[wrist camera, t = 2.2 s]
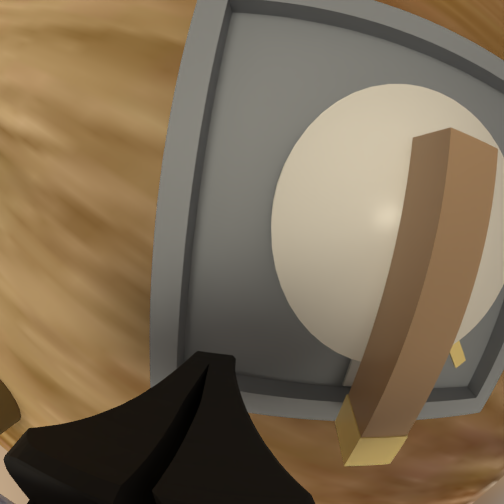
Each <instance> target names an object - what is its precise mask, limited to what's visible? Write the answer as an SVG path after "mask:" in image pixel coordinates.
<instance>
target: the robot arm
mask: <svg viewBox="0 0 504 504" xmlns="http://www.w3.org/2000/svg"><path fill="white" fill-rule="evenodd" d="M235 365H236V358H235V357H234V356H233V355H226V354H218V353H210V352H203V351H197V352H195V353H194V354H193V355H192V356H191V357H190V358H188V359H187V360H186V361H185V362H184V363H183V364H182V365H180V366H179V367H178V368H177V369H176V370H174V371H173V372H172V373H171V374H169V375H168V376H167V377H166V378H164V379H163V380H162V381H160V382H159V383H157V384H156V385H155V386H153V387H152V388H150V389H149V390H147V391H146V392H144V393H143V394H141V395H139V396H138V397H136V398H134V399H132V400H130V401H128V402H126V403H124V404H122V405H120V406H118V407H115V408H113V409H110V410H108V411H105V412H103V413H100V414H97V415H95V416H92V417H88V418H85V419H81V420H78V421H74V422H69V423H65V424H59V425H53V426H45V427H37V428H29V429H28V430H27V431H26V432H25V433H24V434H23V435H22V437H21V438H20V439H19V440H18V441H17V442H16V444H15V445H14V446H13V447H12V448H11V449H10V451H9V452H8V453H7V454H6V455H5V457H4V463H5V466H6V469H7V470H8V472H9V474H10V475H11V477H12V478H13V479H14V481H15V482H16V483H17V484H18V486H19V487H20V488H21V490H22V491H23V492H24V493H25V494H26V496H27V497H28V498H29V499H30V500H29V502H28V503H27V504H315V502H314V500H313V498H312V495H311V494H310V493H309V492H308V491H306V490H305V489H304V488H303V487H302V486H301V485H300V484H299V483H298V482H297V481H296V480H295V479H294V478H293V477H292V476H291V475H290V474H289V473H288V472H287V471H286V470H285V469H284V467H283V466H282V465H281V464H280V463H279V462H278V460H277V459H276V458H275V456H274V455H273V454H272V452H271V451H270V450H269V448H268V447H267V446H266V444H265V443H264V441H263V440H262V438H261V436H260V435H259V433H258V431H257V430H256V428H255V426H254V424H253V422H252V420H251V418H250V416H249V414H248V412H247V409H246V407H245V404H244V402H243V399H242V396H241V393H240V390H239V386H238V382H237V378H236V372H235ZM0 504H14V503H13V502H11V501H10V500H8V499H7V498H6V497H4V496H3V495H1V494H0Z"/></svg>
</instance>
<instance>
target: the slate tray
mask: <svg viewBox="0 0 504 504" xmlns="http://www.w3.org/2000/svg"><path fill="white" fill-rule="evenodd" d="M385 84H409V85H415V86H421V87H425V88H428V89H431V90H434V91H437V92H439V93H441V94H444V95H446V96H447V97H449V98H451V99H453V100H455V101H456V102H458V103H459V104H461V105H462V106H463V107H465V108H466V109H467V110H469V111H470V112H471V113H472V114H473V115H474V116H475V117H476V118H477V119H478V120H479V121H480V122H481V123H482V124H483V126H484V127H485V128H486V129H487V130H488V132H489V133H490V134H491V136H492V137H493V139H494V140H495V142H496V143H497V145H498V147H499V149H500V151H501V153H502V155H503V157H504V61H503V60H502V59H500V58H499V57H497V56H495V55H494V54H492V53H491V52H489V51H487V50H486V49H484V48H482V47H480V46H479V45H477V44H475V43H473V42H472V41H470V40H468V39H466V38H464V37H462V36H460V35H458V34H456V33H454V32H452V31H450V30H448V29H446V28H444V27H442V26H440V25H438V24H435V23H433V22H431V21H428V20H426V19H424V18H421V17H419V16H416V15H414V14H411V13H409V12H406V11H403V10H401V9H398V8H395V7H392V6H389V5H386V4H383V3H380V2H377V1H374V0H197V4H196V7H195V10H194V14H193V17H192V21H191V25H190V28H189V32H188V36H187V40H186V44H185V48H184V52H183V56H182V60H181V65H180V69H179V73H178V78H177V83H176V87H175V92H174V97H173V102H172V108H171V113H170V118H169V124H168V130H167V136H166V142H165V149H164V155H163V162H162V169H161V177H160V185H159V193H158V202H157V211H156V221H155V232H154V245H153V259H152V276H151V299H150V384H151V388H152V387H153V386H155V385H156V384H157V383H159V382H160V381H162V380H163V379H164V378H166V377H167V376H168V375H169V374H171V373H172V372H173V371H174V370H176V369H177V368H178V367H179V366H180V365H182V364H183V363H184V362H185V361H186V360H187V359H188V358H190V357H191V356H192V355H193V354H194V353H195V352H197V351H203V352H210V353H218V354H226V355H233V356H234V357H235V358H236V365H235V372H236V378H237V382H238V386H239V390H240V393H241V396H242V399H243V402H244V404H245V407H246V409H247V412H248V413H255V414H262V415H270V416H279V417H288V418H299V419H312V420H329V421H335V420H336V418H337V416H338V414H339V411H340V409H341V407H342V404H343V402H344V399H345V397H346V395H347V394H349V392H350V389H351V387H352V384H353V382H354V379H355V376H356V374H357V371H358V368H359V366H360V363H361V362H360V361H357V360H353V359H350V358H348V357H346V356H343V355H341V354H339V353H337V352H335V351H334V350H332V349H330V348H329V347H327V346H326V345H324V344H323V343H322V342H320V341H319V340H318V339H317V338H316V337H315V336H313V335H312V334H311V333H310V332H309V331H308V329H307V328H306V327H305V326H304V325H303V324H302V323H301V321H300V320H299V319H298V317H297V316H296V314H295V313H294V311H293V310H292V308H291V306H290V305H289V303H288V301H287V299H286V296H285V294H284V292H283V290H282V288H281V285H280V282H279V278H278V275H277V272H276V269H275V263H274V257H273V251H272V237H271V216H272V205H273V198H274V194H275V189H276V185H277V182H278V179H279V176H280V174H281V171H282V168H283V166H284V164H285V162H286V160H287V158H288V156H289V155H290V153H291V151H292V149H293V147H294V146H295V144H296V143H297V141H298V140H299V139H300V137H301V136H302V134H303V133H304V132H305V130H306V129H307V128H308V126H309V125H310V124H311V123H312V122H313V121H314V120H315V119H316V118H317V117H318V116H319V115H320V114H321V113H322V112H324V111H325V110H326V109H328V108H329V107H330V106H332V105H333V104H334V103H336V102H337V101H339V100H341V99H343V98H344V97H346V96H348V95H350V94H352V93H354V92H357V91H360V90H363V89H366V88H369V87H372V86H379V85H385ZM503 370H504V284H503V287H502V289H501V291H500V292H499V294H498V296H497V298H496V300H495V301H494V303H493V304H492V306H491V307H490V309H489V310H488V312H487V313H486V314H485V316H484V317H483V318H482V319H481V320H480V321H479V323H478V324H477V325H476V326H475V327H474V328H473V329H472V330H471V331H470V332H469V333H468V334H466V335H465V336H464V337H463V338H462V339H460V340H459V341H458V342H456V343H455V344H453V346H452V348H451V351H450V353H449V355H448V357H447V360H446V362H445V364H444V366H443V369H442V371H441V373H440V375H439V377H438V379H437V381H436V383H435V385H434V387H433V389H432V391H431V393H430V395H429V397H428V399H427V401H426V403H425V404H424V406H423V408H422V410H421V412H420V414H419V415H418V417H417V419H416V420H420V419H432V418H442V417H451V416H458V415H466V414H472V413H479V412H480V411H481V410H482V408H483V406H484V405H485V403H486V401H487V400H488V398H489V396H490V394H491V393H492V391H493V389H494V387H495V385H496V383H497V381H498V379H499V378H500V376H501V374H502V372H503Z"/></svg>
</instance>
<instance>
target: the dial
mask: <svg viewBox="0 0 504 504" xmlns="http://www.w3.org/2000/svg"><path fill="white" fill-rule="evenodd" d="M271 237H272V251H273V257H274V263H275V269H276V272H277V275H278V278H279V282H280V285H281V288H282V290H283V292H284V294H285V296H286V299H287V301H288V303H289V305H290V306H291V308H292V310H293V311H294V313H295V314H296V316H297V317H298V319H299V320H300V321H301V323H302V324H303V325H304V326H305V327H306V328H307V329H308V331H309V332H310V333H311V334H312V335H313V336H315V337H316V338H317V339H318V340H319V341H320V342H322V343H323V344H324V345H326V346H327V347H329V348H330V349H332V350H334V351H335V352H337V353H339V354H341V355H343V356H346V357H348V358H350V359H353V360H357V361H360V362H361V363H360V366H359V368H358V371H357V374H356V376H355V379H354V382H353V384H352V387H351V389H350V392H349V394H347V395H346V397H345V399H344V402H343V404H342V407H341V409H340V411H339V414H338V416H337V418H336V420H335V426H336V430H337V435H338V440H339V444H340V449H341V454H342V459H343V464H344V466H364V465H380V464H390V463H391V461H392V460H393V458H394V457H395V455H396V454H397V453H398V451H399V450H400V448H401V446H402V445H403V443H404V442H405V440H406V439H407V437H408V435H407V434H408V432H409V431H410V429H411V427H412V426H413V424H414V422H415V420H416V419H417V417H418V415H419V414H420V412H421V410H422V408H423V406H424V404H425V403H426V401H427V399H428V397H429V395H430V393H431V391H432V389H433V387H434V385H435V383H436V381H437V379H438V377H439V375H440V373H441V371H442V369H443V366H444V364H445V362H446V360H447V357H448V355H449V353H450V351H451V348H452V346H453V344H455V343H456V342H458V341H459V340H460V339H462V338H463V337H464V336H465V335H466V334H468V333H469V332H470V331H471V330H472V329H473V328H474V327H475V326H476V325H477V324H478V323H479V321H480V320H481V319H482V318H483V317H484V316H485V314H486V313H487V312H488V310H489V309H490V307H491V306H492V304H493V303H494V301H495V300H496V298H497V296H498V294H499V292H500V291H501V289H502V287H503V284H504V157H503V155H502V153H501V151H500V149H499V147H498V145H497V143H496V142H495V140H494V139H493V137H492V136H491V134H490V133H489V132H488V130H487V129H486V128H485V127H484V126H483V124H482V123H481V122H480V121H479V120H478V119H477V118H476V117H475V116H474V115H473V114H472V113H471V112H470V111H469V110H467V109H466V108H465V107H463V106H462V105H461V104H459V103H458V102H456V101H455V100H453V99H451V98H449V97H447V96H446V95H444V94H441V93H439V92H437V91H434V90H431V89H428V88H425V87H421V86H415V85H409V84H385V85H379V86H372V87H369V88H366V89H363V90H360V91H357V92H354V93H352V94H350V95H348V96H346V97H344V98H343V99H341V100H339V101H337V102H336V103H334V104H333V105H332V106H330V107H329V108H328V109H326V110H325V111H324V112H322V113H321V114H320V115H319V116H318V117H317V118H316V119H315V120H314V121H313V122H312V123H311V124H310V125H309V126H308V128H307V129H306V130H305V132H304V133H303V134H302V136H301V137H300V139H299V140H298V141H297V143H296V144H295V146H294V147H293V149H292V151H291V153H290V155H289V156H288V158H287V160H286V162H285V164H284V166H283V168H282V171H281V174H280V176H279V179H278V182H277V185H276V189H275V194H274V198H273V205H272V216H271Z"/></svg>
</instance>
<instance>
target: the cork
mask: <svg viewBox="0 0 504 504" xmlns="http://www.w3.org/2000/svg"><path fill="white" fill-rule="evenodd" d="M20 417H21V414H20V410H19V408H18V405H17V403H16V401H15V399H14V398H13V396H12V395H11V393H10V391H9V390H8V389H7V387H6V386H5V385H4V383H3V382H2V381H1V380H0V434H2V433H3V432H4V431H6V430H7V429H8V428H10V427H11V426H12V425H14V424H15V423H16V422H18V421H19V420H20Z"/></svg>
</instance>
